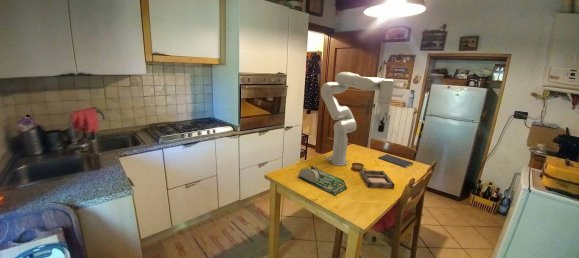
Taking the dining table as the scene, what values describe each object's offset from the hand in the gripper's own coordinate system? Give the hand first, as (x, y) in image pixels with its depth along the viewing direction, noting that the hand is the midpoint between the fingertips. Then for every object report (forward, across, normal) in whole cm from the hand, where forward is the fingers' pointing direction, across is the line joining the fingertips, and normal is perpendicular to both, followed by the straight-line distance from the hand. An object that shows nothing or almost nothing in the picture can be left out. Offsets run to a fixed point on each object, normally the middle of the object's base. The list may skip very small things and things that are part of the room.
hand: (379, 130), depth 145 cm
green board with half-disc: (+32, +6, -33) cm, 46 cm away
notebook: (+32, -31, +27) cm, 52 cm away
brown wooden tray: (+31, +6, 0) cm, 32 cm away
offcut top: (+30, +9, 0) cm, 32 cm away
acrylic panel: (+5, 0, 0) cm, 5 cm away
